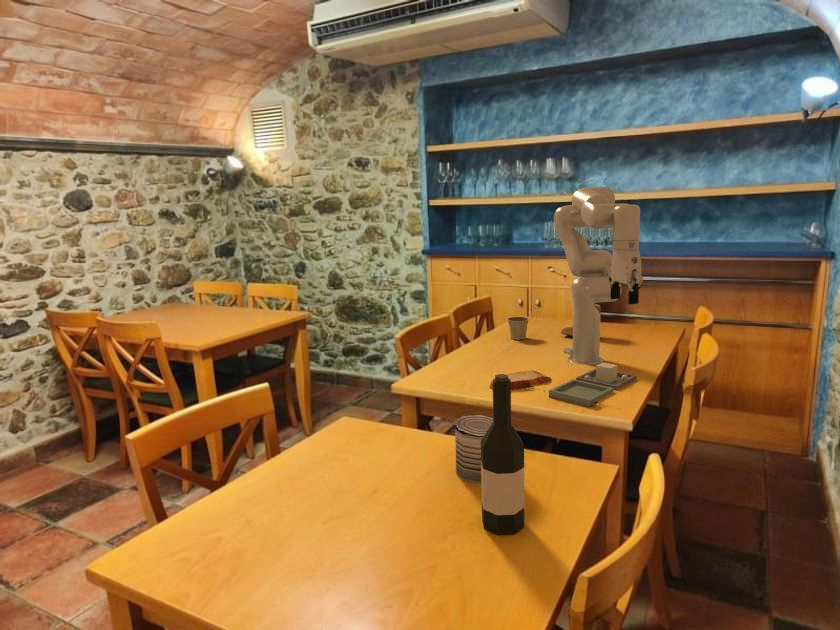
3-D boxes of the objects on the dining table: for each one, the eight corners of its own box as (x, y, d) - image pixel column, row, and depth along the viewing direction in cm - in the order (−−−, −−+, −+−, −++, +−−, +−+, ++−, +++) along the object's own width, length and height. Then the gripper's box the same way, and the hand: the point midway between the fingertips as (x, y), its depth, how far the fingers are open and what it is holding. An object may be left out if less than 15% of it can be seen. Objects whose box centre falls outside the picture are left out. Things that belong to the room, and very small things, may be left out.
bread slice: (486, 390, 192) (485, 379, 191) (503, 374, 208) (503, 364, 207) (540, 397, 184) (540, 385, 183) (554, 379, 200) (554, 369, 199)
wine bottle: (495, 540, 110) (493, 386, 103) (473, 518, 117) (470, 373, 111) (533, 529, 113) (533, 378, 107) (509, 508, 120) (509, 366, 114)
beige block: (595, 380, 194) (596, 365, 193) (602, 376, 197) (602, 362, 196) (610, 383, 190) (610, 368, 189) (616, 379, 193) (617, 365, 192)
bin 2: (575, 384, 194) (576, 376, 193) (597, 373, 203) (597, 366, 203) (616, 393, 184) (616, 384, 184) (636, 381, 194) (636, 374, 193)
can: (467, 457, 144) (466, 410, 142) (511, 465, 139) (511, 417, 136) (447, 477, 134) (445, 428, 132) (494, 487, 129) (494, 436, 126)
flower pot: (507, 335, 260) (506, 316, 258) (528, 335, 259) (528, 316, 257) (507, 341, 251) (507, 321, 249) (529, 341, 250) (529, 321, 248)
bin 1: (548, 397, 183) (548, 390, 182) (572, 385, 192) (572, 379, 192) (590, 407, 173) (590, 400, 173) (613, 394, 183) (613, 388, 182)
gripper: (654, 247, 173) (651, 305, 176) (620, 243, 189) (619, 296, 192) (631, 248, 171) (629, 307, 174) (599, 244, 187) (598, 297, 191)
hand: (624, 301), depth 183 cm, fingers open, 9 cm apart
